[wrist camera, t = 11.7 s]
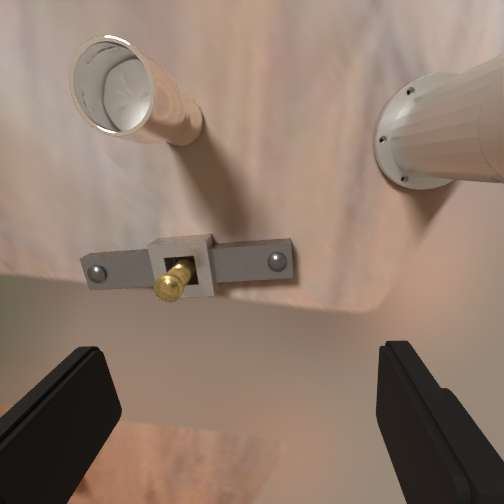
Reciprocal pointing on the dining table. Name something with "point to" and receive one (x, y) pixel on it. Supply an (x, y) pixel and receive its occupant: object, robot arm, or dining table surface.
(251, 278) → the studded connector plate
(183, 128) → the metal tumbler
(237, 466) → the dining table surface
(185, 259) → the link pin
